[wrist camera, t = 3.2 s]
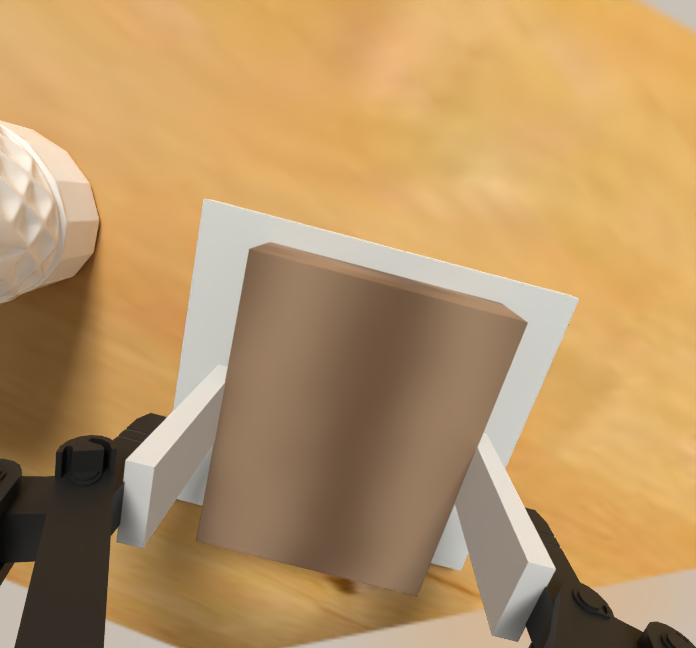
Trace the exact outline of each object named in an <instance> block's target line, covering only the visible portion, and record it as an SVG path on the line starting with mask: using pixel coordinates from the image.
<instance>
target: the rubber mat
mask: <svg viewBox="0 0 696 648" xmlns="http://www.w3.org/2000/svg"><path fill="white" fill-rule="evenodd" d="M268 242H273V243H276V244H280V245H284V246H288V247H292V248H295V249H299V250H303V251H307V252H310V253H314V254H318V255H322V256H326V257H329V258H333V259H337V260H341V261H344V262H348V263H352V264H356V265H360V266H363V267H367V268H371V269H375V270H378V271H382V272H386V273H390V274H394V275H397V276H401V277H405V278H409V279H412V280H416V281H420V282H424V283H427V284H431V285H435V286H439V287H443V288H446V289H450V290H454V291H458V292H461V293H465V294H469V295H473V296H477V297H480V298H484V299H488V300H492V301H495V302H499V303H502V304H503V305H505V306H506V307H507V308H509V309H510V310H511V311H513V312H514V313H516V314H517V315H518V316H520V317H521V318H522V319H524V320H525V321H526V322H528V324H527V327H526V329H525V331H524V334H523V336H522V339H521V341H520V344H519V346H518V349H517V351H516V354H515V356H514V359H513V361H512V364H511V366H510V368H509V371H508V373H507V376H506V378H505V381H504V383H503V386H502V388H501V391H500V393H499V396H498V398H497V401H496V403H495V406H494V408H493V410H492V413H491V415H490V418H489V420H488V423H487V425H486V428H485V430H484V433H486V434H487V435H488V437H489V439H490V441H491V443H492V445H493V447H494V449H495V451H496V453H497V455H498V456H499V458H500V460H501V462H502V464H503V466H504V468H506V466H507V464H508V461H509V459H510V457H511V455H512V452H513V450H514V448H515V445H516V443H517V441H518V439H519V436H520V434H521V432H522V429H523V427H524V425H525V422H526V420H527V418H528V416H529V413H530V411H531V409H532V406H533V404H534V402H535V400H536V397H537V395H538V393H539V390H540V388H541V386H542V384H543V381H544V379H545V377H546V374H547V372H548V370H549V367H550V365H551V363H552V361H553V358H554V356H555V354H556V351H557V349H558V347H559V345H560V342H561V340H562V338H563V335H564V333H565V331H566V328H567V326H568V324H569V322H570V319H571V317H572V315H573V312H574V310H575V308H576V306H577V303H578V301H579V298H576V297H574V296H572V295H569V294H565V293H562V292H558V291H554V290H550V289H547V288H543V287H539V286H535V285H532V284H528V283H524V282H520V281H517V280H513V279H509V278H505V277H501V276H498V275H494V274H490V273H486V272H483V271H479V270H475V269H471V268H468V267H464V266H460V265H456V264H453V263H449V262H445V261H441V260H438V259H434V258H430V257H426V256H423V255H419V254H415V253H411V252H408V251H404V250H400V249H396V248H393V247H389V246H385V245H381V244H378V243H374V242H370V241H366V240H362V239H359V238H355V237H351V236H347V235H344V234H340V233H336V232H332V231H329V230H325V229H321V228H317V227H314V226H310V225H306V224H302V223H299V222H295V221H291V220H287V219H284V218H280V217H276V216H272V215H269V214H265V213H261V212H257V211H254V210H250V209H246V208H242V207H238V206H235V205H231V204H227V203H223V202H220V201H216V200H212V199H204V200H203V207H202V214H201V221H200V228H199V234H198V241H197V248H196V255H195V262H194V269H193V276H192V283H191V290H190V297H189V304H188V311H187V318H186V325H185V332H184V339H183V346H182V353H181V360H180V367H179V374H178V381H177V388H176V395H175V402H174V408H173V411H174V410H175V409H176V408H177V407H178V406H179V405H180V404H181V403H182V401H183V400H184V399H185V398H186V397H187V396H188V395H189V394H190V393H191V392H192V391H193V390H194V389H195V388H196V387H197V386H198V385H199V384H200V383H201V382H202V381H203V380H204V379H205V378H206V377H207V376H208V375H209V374H210V373H211V372H212V371H213V370H214V369H215V368H216V367H217V365H218V364H219V365H223V366H227V367H228V362H229V357H230V351H231V346H232V340H233V335H234V329H235V324H236V318H237V313H238V307H239V302H240V296H241V291H242V285H243V280H244V274H245V269H246V263H247V258H248V252H249V249H250V248H253V247H256V246H259V245H262V244H265V243H268ZM213 445H214V444H213ZM213 445H212V447H211V448H210V450H209V451H208V453H207V454H206V456H205V457H204V459H203V460H202V462H201V463H200V465H199V466H198V468H197V469H196V471H195V472H194V473H193V475H192V476H191V478H190V479H189V481H188V482H187V484H186V485H185V487H184V488H183V490H182V491H181V493H180V494H179V496H178V497H177V499H178V500H182V501H186V502H190V503H194V504H198V505H202V506H203V500H204V494H205V489H206V483H207V478H208V472H209V467H210V461H211V456H212V450H213ZM468 553H469V552H468V549H467V545H466V542H465V538H464V535H463V531H462V528H461V524H460V520H459V517H458V513H457V510H456V506H455V504H454V507H453V509H452V512H451V514H450V517H449V519H448V522H447V524H446V527H445V529H444V532H443V534H442V536H441V539H440V541H439V544H438V546H437V549H436V551H435V554H434V556H433V559H432V561H431V563H432V564H436V565H440V566H443V567H447V568H451V569H455V570H459V571H461V569H462V567H463V565H464V562H465V560H466V558H467V555H468Z"/></svg>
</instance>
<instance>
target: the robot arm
mask: <svg viewBox="0 0 696 648" xmlns="http://www.w3.org/2000/svg"><path fill="white" fill-rule="evenodd" d="M227 368H228V367H227V366H223V365H219V364H218V365H217V367H216V368H215V369H214V370H213V371H212V372H211V373H210V374H209V375H208V376H207V377H206V378H205V379H204V380H203V381H202V382H201V383H200V384H199V385H198V386H197V387H196V388H195V389H194V390H193V391H192V392H191V393H190V394H189V395H188V396H187V397H186V398H185V399H184V400H183V401H182V403H181V404H180V405H179V406H178V407H177V408H176V409H175V410H174V411H173V412H172V413H171V414H170V415H169V416H168V417H164V416H160V415H157V414H153V413H150V414H147V415H145V416H143V417H140V418H138V419H136V420H135V421H134V422H133V423H132V424H131V425H129V426H128V427H127V429H126V430H124V431H123V432H122V433H121V434H119V436H118V437H116V438H115V439H114V440H113V441H112V440H111V439H110V438H107V437H103V436H96V435H88V436H81V437H77V438H74V439H71V440H69V441H67V442H65V443H64V444H63V445H61V446H60V447H59V449H58V450H57V452H56V467H55V476H47V477H39V476H22V470H21V467H20V465H19V464H17V463H16V462H14V461H11V460H6V459H0V585H1V584H2V582H3V581H4V579H5V577H6V576H7V574H8V572H9V571H10V569H11V568H12V566H13V564H14V563H15V562H33V561H35V564H34V568H33V573H32V577H31V581H30V585H29V589H28V593H27V598H26V602H25V606H24V611H23V614H22V618H21V623H20V627H19V631H18V635H17V639H16V643H15V647H14V648H104V634H105V618H106V602H107V586H108V571H109V555H110V539H111V535H112V534H113V533H114V531H115V530H116V529H117V528H118V534H117V542H119V543H123V544H127V545H131V546H135V547H139V548H144V547H145V545H146V544H147V542H148V541H149V539H150V538H151V536H152V535H153V533H154V532H155V530H156V529H157V527H158V526H159V524H160V523H161V521H162V520H163V518H164V517H165V515H166V514H167V512H168V511H169V509H170V508H171V506H172V505H173V503H174V502H175V500H176V499H177V497H178V496H179V494H180V493H181V491H182V490H183V488H184V487H185V485H186V484H187V482H188V481H189V479H190V478H191V476H192V475H193V473H194V472H195V471H196V469H197V468H198V466H199V465H200V463H201V462H202V460H203V459H204V457H205V456H206V454H207V453H208V451H209V450H210V448H211V447H212V445H213V444H214V442H215V438H216V432H217V427H218V421H219V416H220V410H221V405H222V399H223V394H224V388H225V383H226V382H225V379H226V373H227ZM455 506H456V510H457V513H458V517H459V520H460V524H461V528H462V531H463V535H464V538H465V542H466V545H467V549H468V552H469V556H470V559H471V563H472V567H473V570H474V574H475V577H476V581H477V584H478V588H479V591H480V595H481V598H482V602H483V606H484V609H485V613H486V616H487V620H488V623H489V627H490V630H491V634H492V636H496V637H501V638H504V639H508V640H512V641H516V642H518V641H519V639H520V637H521V635H522V633H523V631H524V629H525V627H526V628H527V630H528V633H529V635H530V639H531V641H532V643H531V644H530V646H529V648H696V647H695V646H694V645H693V644H692V643H691V642H690V641H689V640H688V639H687V638H686V637H685V636H683V635H682V634H681V633H679V632H678V631H676V630H675V629H673V628H671V627H669V626H668V625H666V624H663V623H659V622H650V623H649V624H648V626H647V628H646V629H645V630H644V632H642V631H640V630H638V629H636V628H634V627H632V626H630V625H628V624H626V623H624V622H622V621H621V620H618V619H617V618H615V617H614V615H613V612H612V610H611V609H610V607H609V606H608V604H607V603H606V601H605V600H604V599H603V598H602V597H601V596H600V595H599V594H598V593H596V592H595V591H594V590H592V589H591V588H590V587H588V586H586V585H584V584H582V583H580V581H579V580H578V578H577V576H576V574H575V572H574V571H573V569H572V567H571V565H570V563H569V562H568V560H567V558H566V556H565V554H564V553H563V551H562V549H561V548H560V545H559V544H558V542H557V540H556V538H554V535H553V533H552V531H551V529H550V528H549V526H548V524H547V522H546V521H545V520H544V519H543V518H542V517H541V516H540V515H539V514H538V513H537V512H536V511H535V510H532V509H528V508H525V507H524V505H523V503H522V501H521V500H520V498H519V496H518V494H517V492H516V490H515V488H514V486H513V484H512V482H511V480H510V478H509V476H508V474H507V472H506V470H505V468H504V466H503V464H502V462H501V460H500V458H499V456H498V455H497V453H496V451H495V449H494V447H493V445H492V443H491V441H490V439H489V437H488V435H487V434H486V433H483V435H482V438H481V440H480V443H479V445H478V447H477V448H476V451H475V453H474V456H473V458H472V461H471V463H470V466H469V468H468V471H467V473H466V476H465V478H464V480H463V483H462V485H461V488H460V490H459V493H458V495H457V498H456V500H455Z"/></svg>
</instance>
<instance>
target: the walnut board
mask: <svg viewBox="0 0 696 648" xmlns="http://www.w3.org/2000/svg"><path fill="white" fill-rule="evenodd" d="M527 324H528V322H526V321H525V320H524V319H522V318H521V317H520V316H518V315H517V314H516V313H514V312H513V311H511V310H510V309H509V308H507V307H506V306H505V305H503V304H502V303H499V302H495V301H492V300H488V299H484V298H480V297H477V296H473V295H469V294H465V293H461V292H458V291H454V290H450V289H446V288H443V287H439V286H435V285H431V284H427V283H424V282H420V281H416V280H412V279H409V278H405V277H401V276H397V275H394V274H390V273H386V272H382V271H378V270H375V269H371V268H367V267H363V266H360V265H356V264H352V263H348V262H344V261H341V260H337V259H333V258H329V257H326V256H322V255H318V254H314V253H310V252H307V251H303V250H299V249H295V248H292V247H288V246H284V245H280V244H276V243H273V242H268V243H265V244H262V245H259V246H256V247H253V248H250V249H249V252H248V258H247V263H246V269H245V274H244V280H243V285H242V291H241V296H240V302H239V307H238V313H237V318H236V324H235V329H234V335H233V340H232V346H231V351H230V357H229V362H228V368H227V373H226V379H225V382H226V383H225V388H224V394H223V399H222V405H221V410H220V416H219V421H218V427H217V432H216V438H215V442H214V445H213V450H212V456H211V461H210V467H209V472H208V478H207V483H206V489H205V494H204V500H203V506H202V511H201V517H200V522H199V528H198V533H197V539H196V541H198V542H202V543H206V544H210V545H214V546H218V547H222V548H226V549H230V550H234V551H238V552H242V553H246V554H250V555H254V556H258V557H262V558H266V559H270V560H274V561H278V562H282V563H286V564H290V565H294V566H298V567H302V568H306V569H310V570H314V571H318V572H322V573H326V574H330V575H334V576H338V577H342V578H345V579H349V580H353V581H357V582H361V583H365V584H369V585H373V586H377V587H381V588H385V589H389V590H393V591H397V592H401V593H405V594H409V595H413V596H418V593H419V591H420V588H421V586H422V583H423V581H424V578H425V576H426V574H427V571H428V569H429V566H430V564H431V561H432V559H433V556H434V554H435V551H436V549H437V546H438V544H439V541H440V539H441V536H442V534H443V532H444V529H445V527H446V524H447V522H448V519H449V517H450V514H451V512H452V509H453V507H454V504H455V500H456V498H457V495H458V493H459V490H460V488H461V485H462V483H463V480H464V478H465V476H466V473H467V471H468V468H469V466H470V463H471V461H472V458H473V456H474V453H475V451H476V448H477V447H478V445H479V443H480V440H481V438H482V435H483V433H484V430H485V428H486V425H487V423H488V420H489V418H490V415H491V413H492V410H493V408H494V406H495V403H496V401H497V398H498V396H499V393H500V391H501V388H502V386H503V383H504V381H505V378H506V376H507V373H508V371H509V368H510V366H511V364H512V361H513V359H514V356H515V354H516V351H517V349H518V346H519V344H520V341H521V339H522V336H523V334H524V331H525V329H526V327H527Z"/></svg>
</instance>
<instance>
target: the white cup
mask: <svg viewBox="0 0 696 648" xmlns="http://www.w3.org/2000/svg"><path fill="white" fill-rule="evenodd" d="M98 226H99V216H98V212H97V208H96V204H95V200H94V197H93V193H92V189H91V185H90V183H89V182H88V180H87V179H86V177H85V176H84V175H83V173H82V172H81V170H80V169H79V168H78V166H77V165H76V164H75V162H74V161H73V159H72V158H71V157H70V155H69V154H68V153H67V151H65V150H64V149H62V148H60V147H59V146H57V145H56V144H54V143H53V142H51V141H50V140H48V139H46V138H45V137H43V136H42V135H40V134H39V133H37V132H36V131H34V130H32V129H29V128H25V127H22V126H18V125H15V124H11V123H8V122H4V121H0V304H1V303H4V302H8V301H11V300H14V299H15V298H17V297H18V296H20V295H21V294H23V293H26V292H29V291H32V290H35V289H39V288H42V287H45V286H48V285H51V284H54V283H56V282H59V281H62V280H65V279H68V278H71V277H73V276H75V275H76V274H77V272H78V271H79V270H80V269H81V267H82V266H83V265H84V264H85V263H86V261H87V260H88V259H89V258H90V256H91V255H92V254H93V253H94V248H95V242H96V237H97V231H98Z"/></svg>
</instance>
